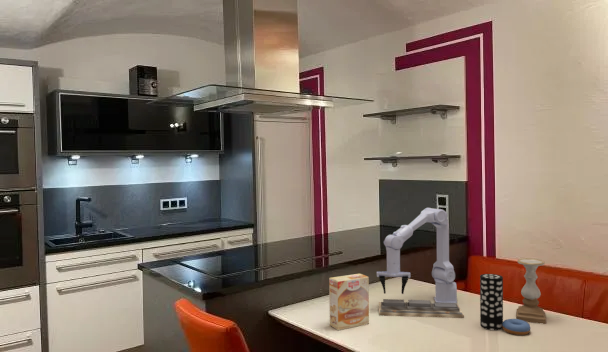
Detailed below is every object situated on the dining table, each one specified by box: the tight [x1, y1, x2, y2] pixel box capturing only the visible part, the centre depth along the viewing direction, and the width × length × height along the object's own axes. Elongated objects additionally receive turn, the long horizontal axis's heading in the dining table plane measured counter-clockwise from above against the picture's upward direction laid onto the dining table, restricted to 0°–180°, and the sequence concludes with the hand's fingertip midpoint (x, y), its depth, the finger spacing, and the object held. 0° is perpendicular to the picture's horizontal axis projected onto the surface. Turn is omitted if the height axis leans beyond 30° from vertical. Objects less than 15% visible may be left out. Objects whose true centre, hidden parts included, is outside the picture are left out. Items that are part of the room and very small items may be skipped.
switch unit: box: [378, 301, 465, 319], centre depth 210 cm, size 35×15×3 cm, turn 82°
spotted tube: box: [479, 273, 504, 331], centre depth 189 cm, size 8×8×20 cm
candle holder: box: [515, 257, 547, 325], centre depth 198 cm, size 11×11×24 cm
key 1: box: [382, 298, 405, 306], centre depth 211 cm, size 9×5×2 cm, turn 82°
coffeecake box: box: [328, 273, 370, 331], centre depth 194 cm, size 15×7×20 cm, turn 117°
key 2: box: [433, 302, 457, 308], centre depth 208 cm, size 9×5×2 cm, turn 82°
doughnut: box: [502, 318, 531, 336], centre depth 184 cm, size 10×10×5 cm
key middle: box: [408, 299, 431, 307], centre depth 209 cm, size 9×5×2 cm, turn 82°
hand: (393, 293), depth 211 cm, fingers open, 7 cm apart
